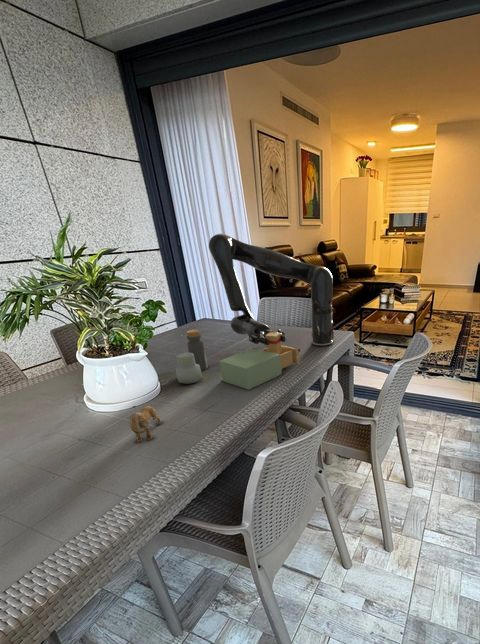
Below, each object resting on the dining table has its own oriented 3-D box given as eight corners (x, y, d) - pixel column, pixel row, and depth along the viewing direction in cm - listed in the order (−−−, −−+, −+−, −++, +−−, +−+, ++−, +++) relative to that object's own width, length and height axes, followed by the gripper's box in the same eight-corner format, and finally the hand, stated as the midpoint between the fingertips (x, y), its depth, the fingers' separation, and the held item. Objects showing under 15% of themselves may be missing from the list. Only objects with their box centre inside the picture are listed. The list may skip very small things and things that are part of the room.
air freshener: (203, 384, 126) (198, 357, 121) (179, 388, 123) (173, 361, 118) (200, 373, 135) (195, 348, 130) (178, 377, 132) (171, 352, 127)
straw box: (271, 352, 139) (269, 332, 135) (282, 353, 137) (280, 332, 134) (266, 356, 135) (264, 335, 131) (277, 356, 134) (275, 336, 130)
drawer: (283, 354, 149) (282, 340, 147) (306, 359, 142) (305, 345, 140) (247, 368, 135) (245, 354, 133) (271, 375, 129) (269, 360, 126)
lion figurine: (155, 446, 91) (146, 416, 87) (132, 449, 90) (122, 419, 86) (163, 419, 104) (155, 391, 99) (143, 422, 102) (135, 394, 98)
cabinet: (256, 366, 140) (254, 348, 136) (281, 374, 132) (280, 354, 128) (222, 381, 128) (219, 360, 124) (248, 389, 120) (245, 368, 117)
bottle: (210, 365, 142) (203, 329, 135) (204, 371, 137) (197, 333, 130) (196, 365, 143) (188, 329, 136) (190, 370, 138) (181, 333, 131)
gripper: (240, 324, 139) (257, 334, 126) (272, 319, 146) (292, 327, 133) (242, 343, 142) (259, 354, 130) (274, 337, 149) (293, 346, 137)
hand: (276, 340), depth 132 cm, fingers closed on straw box, 6 cm apart
